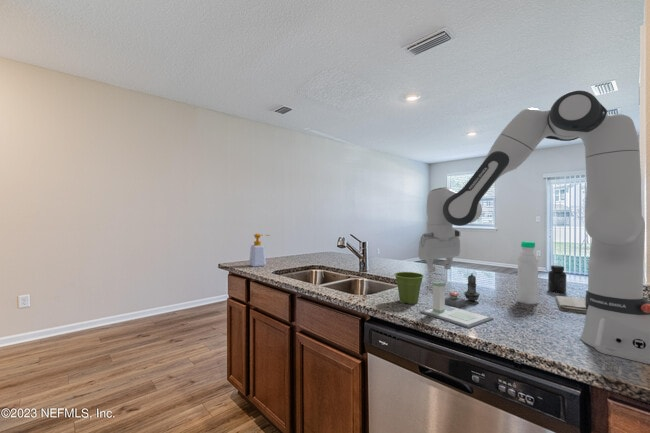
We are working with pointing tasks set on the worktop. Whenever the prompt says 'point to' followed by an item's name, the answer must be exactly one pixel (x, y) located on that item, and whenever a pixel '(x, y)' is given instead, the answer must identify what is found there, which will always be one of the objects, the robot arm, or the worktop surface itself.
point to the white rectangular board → (458, 316)
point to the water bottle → (527, 274)
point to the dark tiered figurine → (471, 291)
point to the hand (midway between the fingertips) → (439, 270)
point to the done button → (453, 295)
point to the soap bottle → (257, 253)
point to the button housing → (455, 302)
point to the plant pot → (409, 286)
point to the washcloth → (571, 304)
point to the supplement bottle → (557, 279)
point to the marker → (438, 297)
